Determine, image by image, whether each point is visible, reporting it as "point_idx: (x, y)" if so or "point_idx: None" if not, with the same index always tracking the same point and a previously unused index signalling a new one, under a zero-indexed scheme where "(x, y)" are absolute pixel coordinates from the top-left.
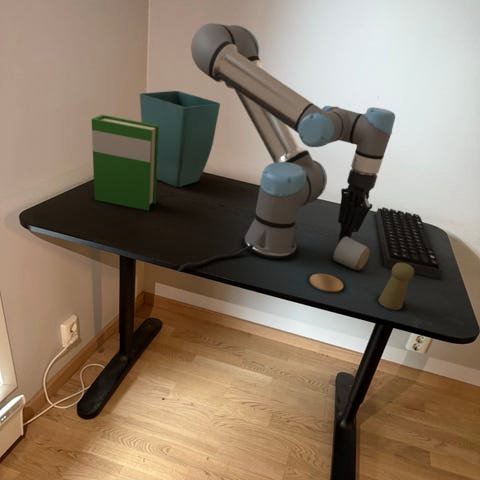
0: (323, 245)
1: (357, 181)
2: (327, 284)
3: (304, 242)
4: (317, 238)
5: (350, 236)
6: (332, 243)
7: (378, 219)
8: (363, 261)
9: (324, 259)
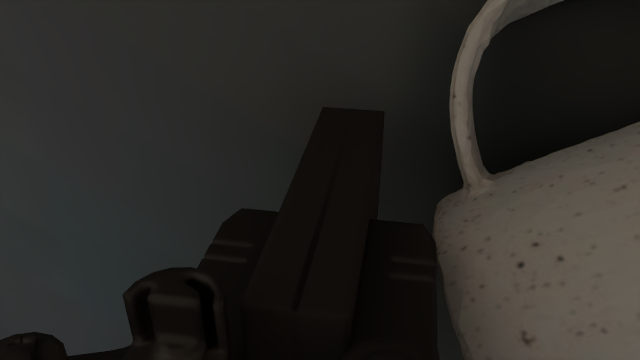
0: (157, 191)
1: None
2: None
3: (119, 318)
4: (5, 163)
5: (434, 305)
6: (92, 60)
7: None
8: None
9: (442, 337)
